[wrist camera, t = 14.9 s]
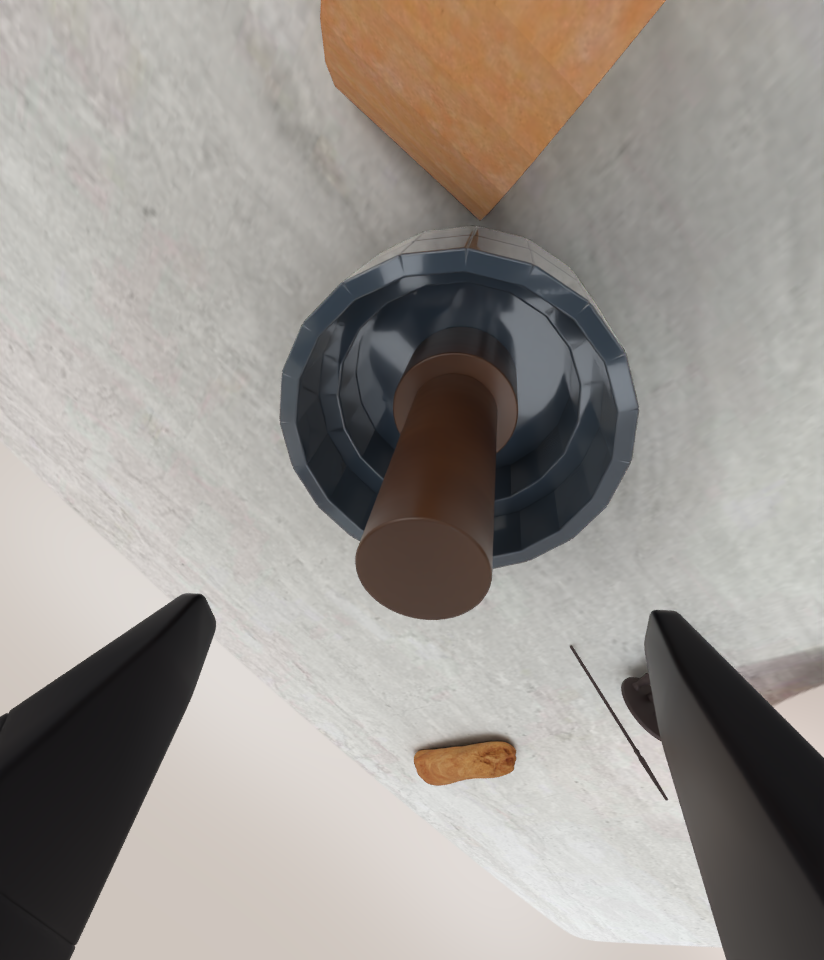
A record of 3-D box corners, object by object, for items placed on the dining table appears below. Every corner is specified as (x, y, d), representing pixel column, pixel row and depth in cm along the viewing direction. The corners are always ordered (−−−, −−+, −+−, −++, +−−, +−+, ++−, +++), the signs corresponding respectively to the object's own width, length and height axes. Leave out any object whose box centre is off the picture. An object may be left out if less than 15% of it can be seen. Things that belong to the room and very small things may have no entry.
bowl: (621, 207, 16) (666, 227, 12) (593, 489, 22) (615, 575, 18) (302, 242, 18) (235, 270, 14) (354, 490, 24) (320, 567, 20)
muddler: (516, 322, 18) (527, 488, 9) (516, 429, 20) (525, 646, 11) (400, 330, 19) (302, 489, 10) (412, 432, 21) (344, 636, 12)
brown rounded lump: (407, 727, 36) (424, 755, 39) (401, 760, 34) (419, 787, 37) (513, 737, 33) (522, 766, 36) (511, 774, 32) (521, 801, 35)
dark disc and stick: (664, 801, 22) (734, 757, 20) (568, 646, 28) (616, 600, 26) (722, 784, 25) (788, 744, 23) (625, 647, 31) (671, 606, 29)
